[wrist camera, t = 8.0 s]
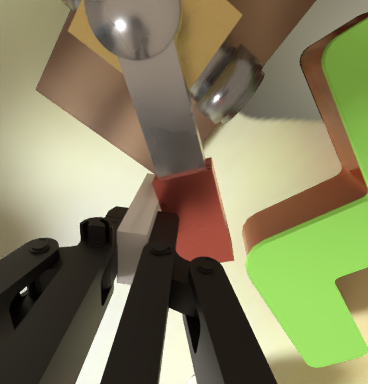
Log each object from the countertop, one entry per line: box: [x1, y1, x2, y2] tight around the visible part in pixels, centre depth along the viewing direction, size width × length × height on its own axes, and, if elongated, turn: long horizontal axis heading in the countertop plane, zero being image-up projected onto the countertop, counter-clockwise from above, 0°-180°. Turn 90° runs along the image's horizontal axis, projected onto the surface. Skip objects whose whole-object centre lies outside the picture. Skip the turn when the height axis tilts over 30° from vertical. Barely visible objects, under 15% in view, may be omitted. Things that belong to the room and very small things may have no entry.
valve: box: [61, 0, 264, 124], centre depth 16 cm, size 14×6×10 cm, turn 53°
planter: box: [242, 12, 368, 368], centre depth 24 cm, size 30×18×6 cm, turn 32°
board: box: [36, 0, 316, 175], centre depth 21 cm, size 14×20×2 cm
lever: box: [84, 0, 234, 263], centre depth 13 cm, size 14×4×2 cm, turn 15°
